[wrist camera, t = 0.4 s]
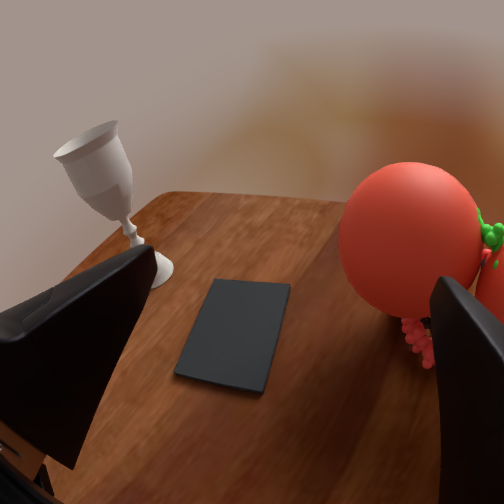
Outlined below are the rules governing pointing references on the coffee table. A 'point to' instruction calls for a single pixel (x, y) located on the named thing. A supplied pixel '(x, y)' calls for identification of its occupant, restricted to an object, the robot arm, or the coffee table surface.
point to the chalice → (106, 181)
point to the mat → (235, 335)
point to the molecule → (418, 246)
